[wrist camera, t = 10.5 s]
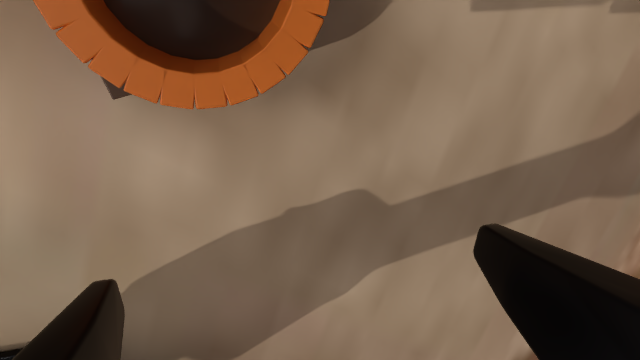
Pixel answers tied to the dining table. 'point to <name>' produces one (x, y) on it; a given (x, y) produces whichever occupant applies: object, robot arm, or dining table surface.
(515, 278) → the robot arm
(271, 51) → the toy tire
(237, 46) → the peg stand
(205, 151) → the dining table surface
